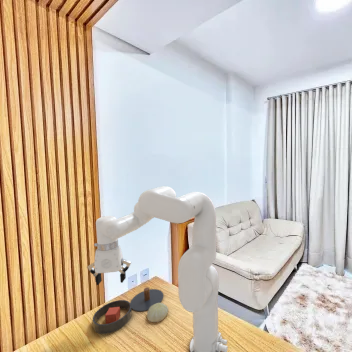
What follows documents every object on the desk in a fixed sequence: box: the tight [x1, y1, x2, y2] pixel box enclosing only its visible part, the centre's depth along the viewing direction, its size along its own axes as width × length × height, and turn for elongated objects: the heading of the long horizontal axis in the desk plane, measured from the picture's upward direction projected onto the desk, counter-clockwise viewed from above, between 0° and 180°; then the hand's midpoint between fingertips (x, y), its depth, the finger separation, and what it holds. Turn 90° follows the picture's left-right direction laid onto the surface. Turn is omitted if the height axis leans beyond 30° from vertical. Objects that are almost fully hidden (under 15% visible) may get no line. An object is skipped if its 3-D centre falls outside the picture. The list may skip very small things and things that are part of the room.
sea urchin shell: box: [146, 302, 169, 323], centre depth 94 cm, size 9×8×8 cm
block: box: [104, 307, 121, 324], centre depth 92 cm, size 4×4×4 cm
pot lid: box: [130, 287, 164, 313], centre depth 104 cm, size 15×15×7 cm
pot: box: [92, 299, 133, 335], centre depth 92 cm, size 15×15×4 cm
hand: (111, 281), depth 91 cm, fingers open, 9 cm apart
